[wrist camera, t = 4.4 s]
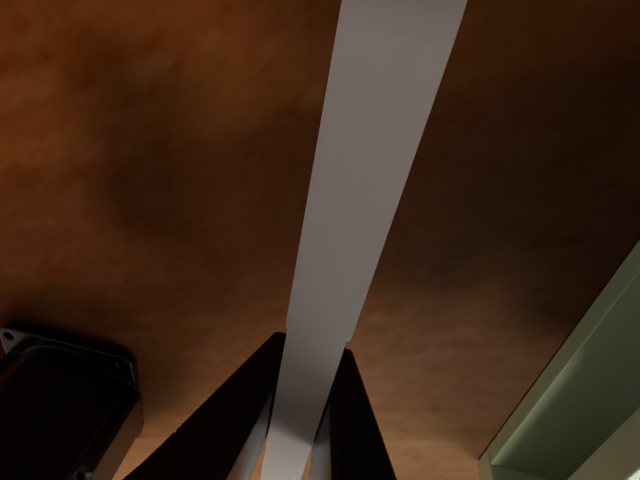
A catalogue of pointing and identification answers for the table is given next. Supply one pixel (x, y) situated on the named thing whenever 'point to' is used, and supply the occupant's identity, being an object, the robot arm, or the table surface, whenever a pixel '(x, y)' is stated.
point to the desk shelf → (582, 399)
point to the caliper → (353, 197)
